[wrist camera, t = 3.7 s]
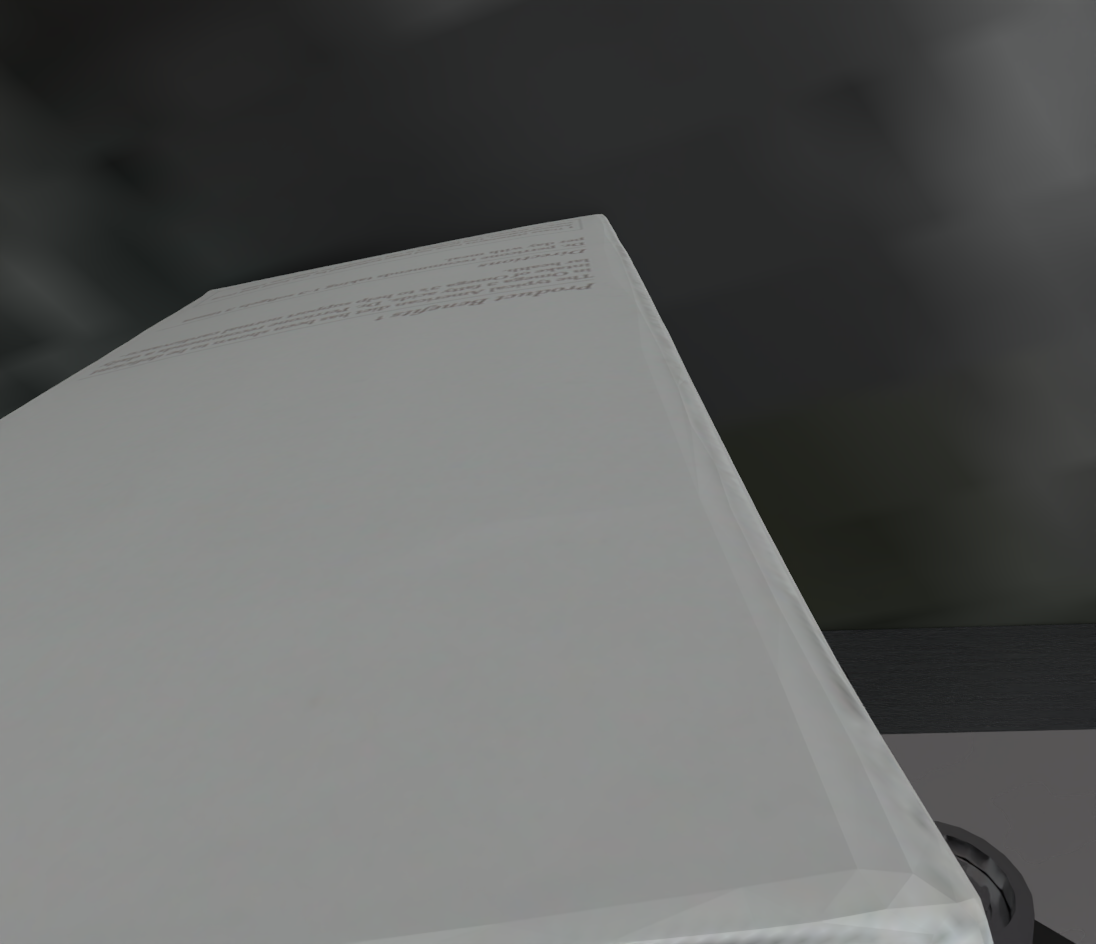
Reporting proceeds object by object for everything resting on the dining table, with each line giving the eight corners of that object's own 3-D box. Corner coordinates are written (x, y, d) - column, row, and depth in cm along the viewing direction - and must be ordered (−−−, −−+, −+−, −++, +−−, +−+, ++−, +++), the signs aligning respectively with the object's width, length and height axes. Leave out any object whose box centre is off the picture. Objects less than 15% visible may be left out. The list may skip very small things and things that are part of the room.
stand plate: (728, 634, 17) (789, 831, 12) (1301, 617, 17) (1576, 814, 12) (703, 977, 22) (740, 1202, 18) (1137, 970, 22) (1288, 1198, 17)
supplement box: (329, 622, 17) (-135, 1719, 6) (202, 280, 14) (-1507, 1217, 2) (672, 572, 16) (942, 1693, 5) (622, 202, 13) (1079, 961, 2)
